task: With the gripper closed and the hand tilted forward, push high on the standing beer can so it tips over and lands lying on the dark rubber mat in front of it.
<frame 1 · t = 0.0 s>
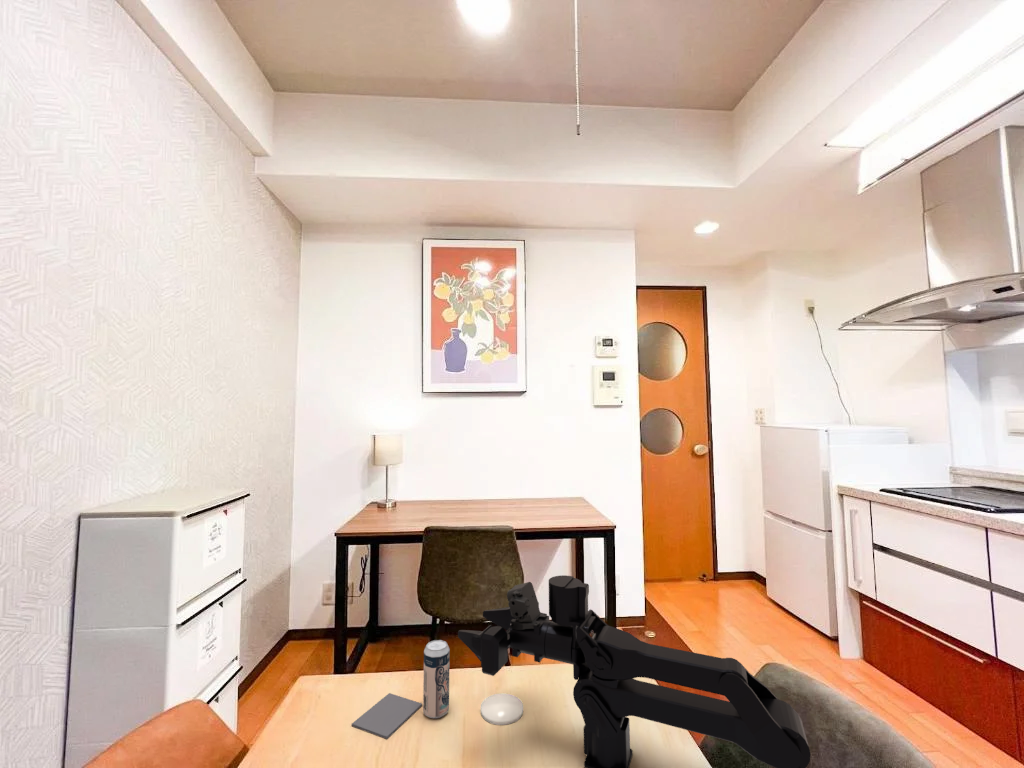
hand: (471, 623, 83), 17 cm above the table, tool horizontal, fingers open, 9 cm apart
coaster: (501, 710, 84), on the table
beer can: (436, 713, 83), on the table
mat: (388, 715, 82), on the table
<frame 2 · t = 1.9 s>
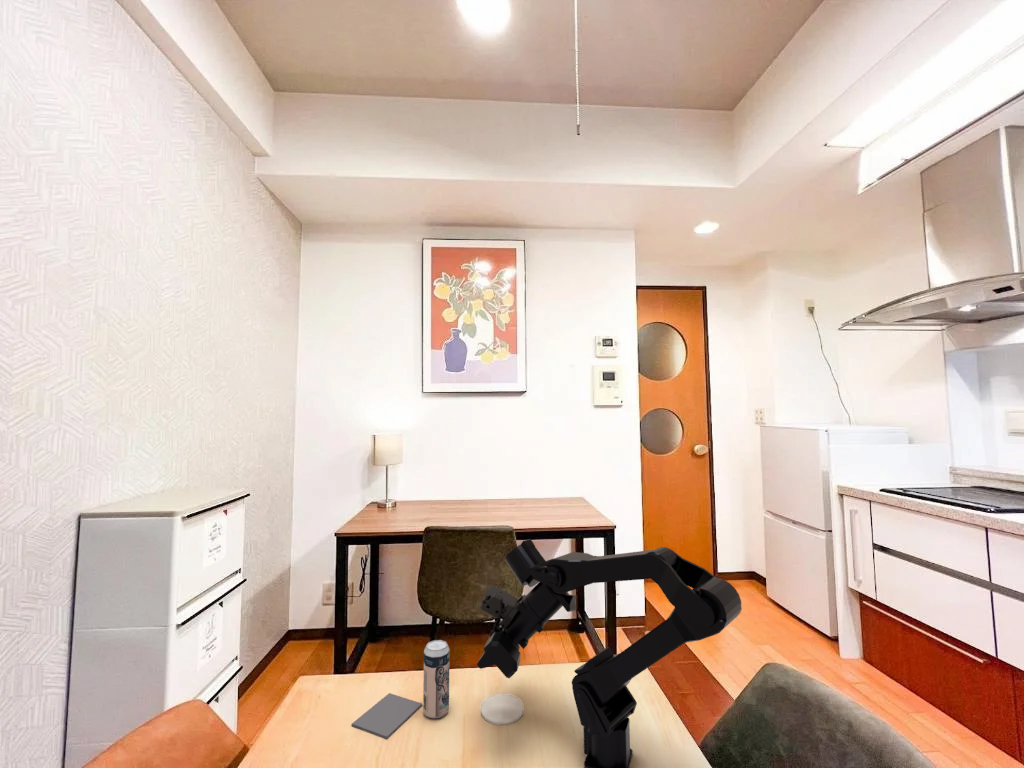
hand: (478, 665, 83), 9 cm above the table, tool tilted 45°, fingers closed
nothing on the table moved.
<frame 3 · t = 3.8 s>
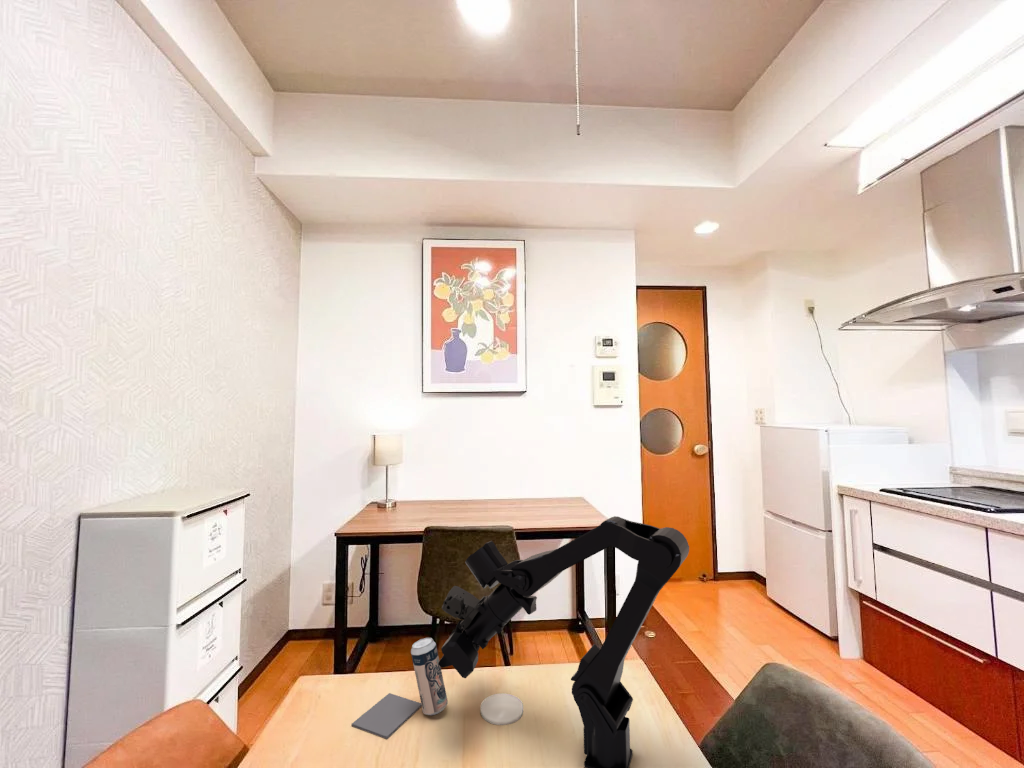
hand: (440, 664, 84), 8 cm above the table, tool tilted 45°, fingers closed
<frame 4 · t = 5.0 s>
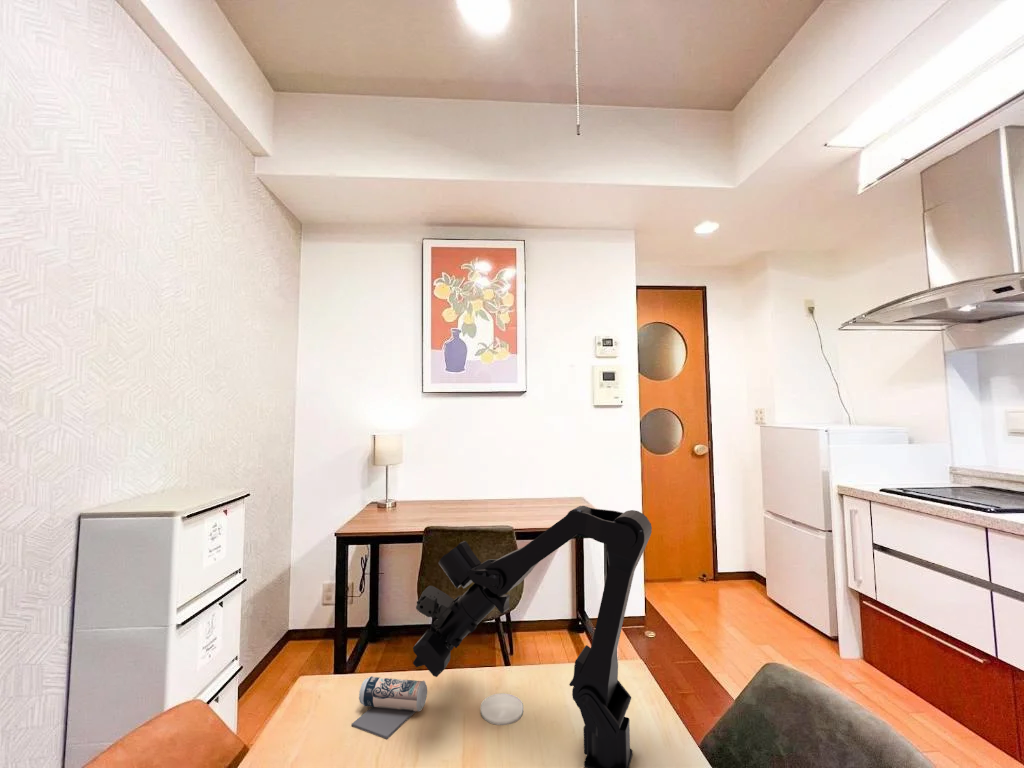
hand: (415, 664, 85), 8 cm above the table, tool tilted 45°, fingers closed
beer can: (425, 696, 84), point 3 cm above the table, touching mat
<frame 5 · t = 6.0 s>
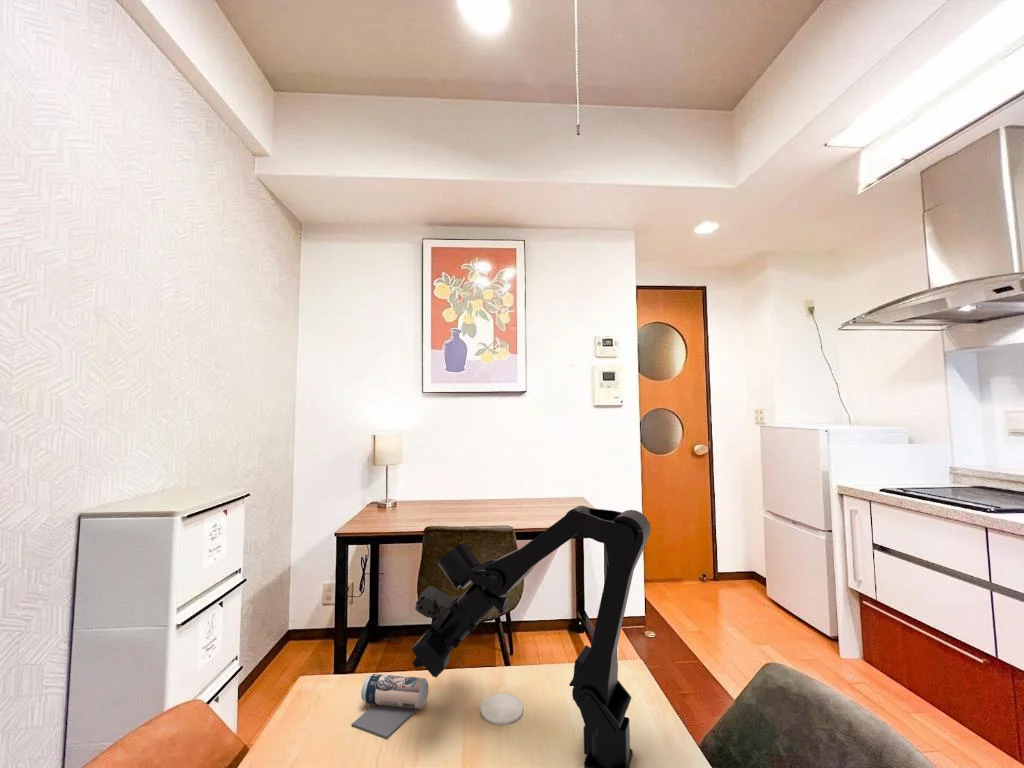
hand: (414, 664, 85), 8 cm above the table, tool tilted 45°, fingers closed
nothing on the table moved.
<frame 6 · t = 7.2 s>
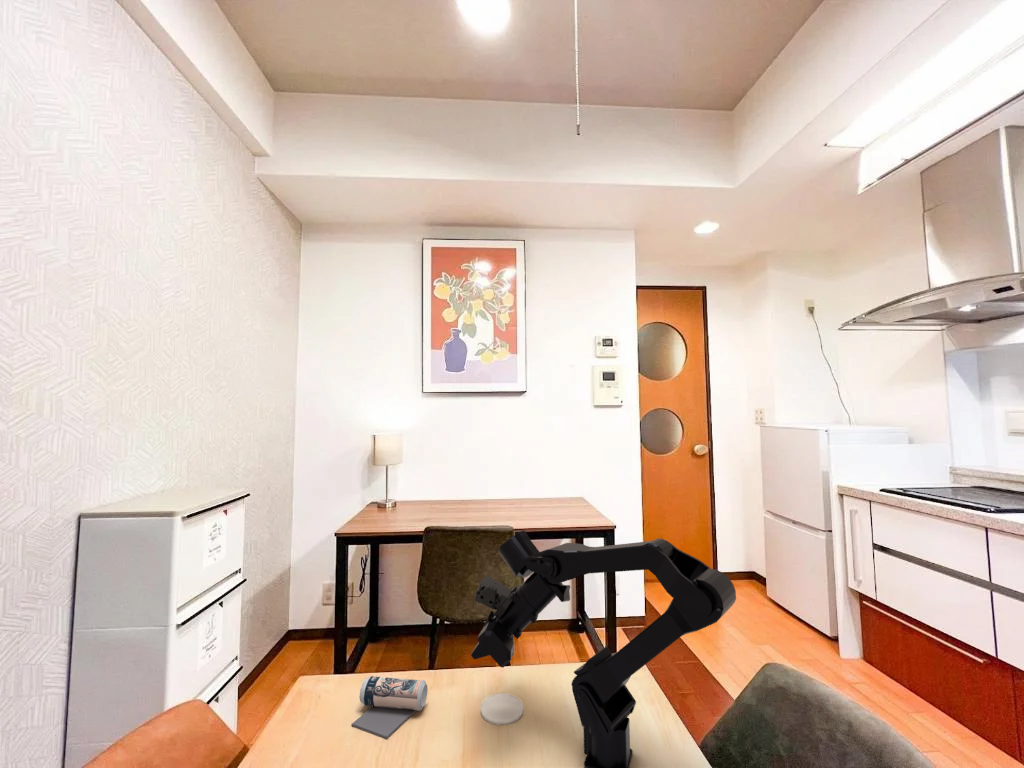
hand: (472, 656, 83), 11 cm above the table, tool tilted 45°, fingers closed
nothing on the table moved.
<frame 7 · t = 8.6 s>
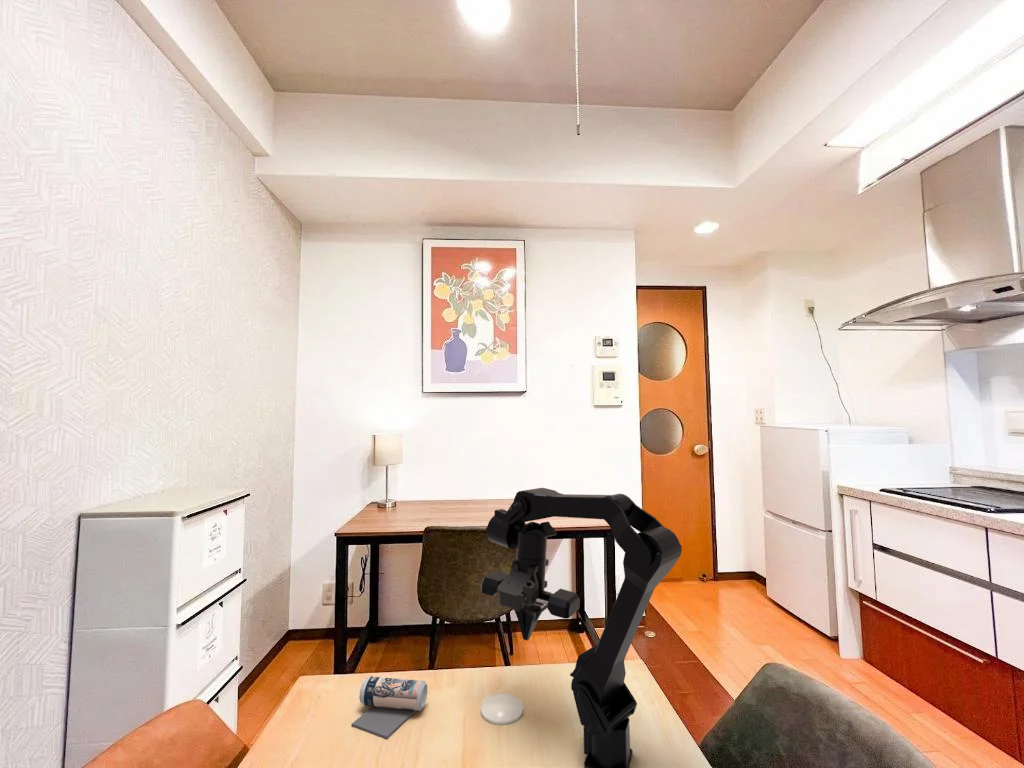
hand: (526, 639, 84), 13 cm above the table, tool pointing down, fingers closed
nothing on the table moved.
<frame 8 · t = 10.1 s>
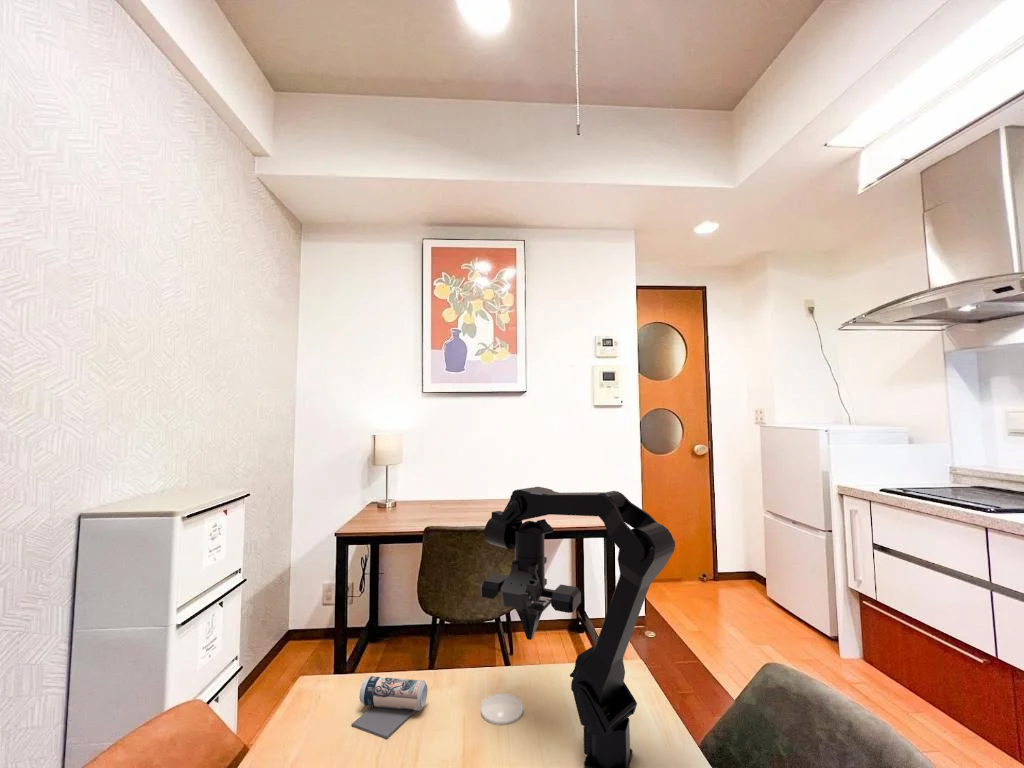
hand: (530, 638, 84), 13 cm above the table, tool pointing down, fingers closed
nothing on the table moved.
at the end: beer can tilted 90°; beer can inside the target area (5.5 cm from its centre), point 2.8 cm above the table; the gripper is holding nothing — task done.
